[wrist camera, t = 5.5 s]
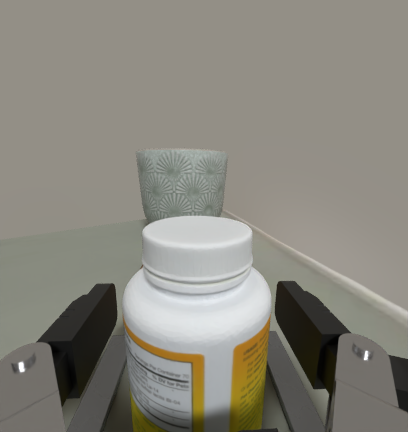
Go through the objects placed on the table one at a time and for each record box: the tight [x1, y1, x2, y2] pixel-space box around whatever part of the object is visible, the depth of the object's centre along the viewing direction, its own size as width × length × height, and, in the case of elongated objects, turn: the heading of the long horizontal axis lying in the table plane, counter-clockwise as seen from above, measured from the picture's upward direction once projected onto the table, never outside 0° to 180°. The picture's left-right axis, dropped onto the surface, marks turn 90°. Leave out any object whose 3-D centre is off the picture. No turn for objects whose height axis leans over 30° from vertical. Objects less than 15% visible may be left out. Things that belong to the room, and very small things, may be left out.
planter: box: [136, 149, 228, 223], centre depth 42 cm, size 17×17×15 cm
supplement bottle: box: [122, 216, 271, 432], centre depth 9 cm, size 6×6×10 cm
